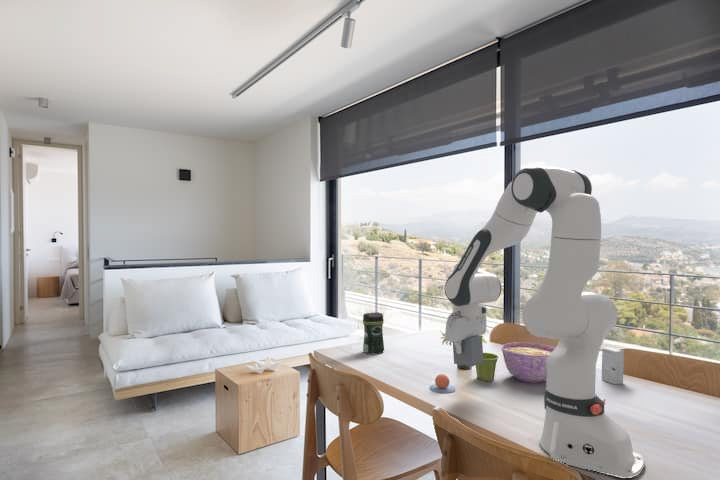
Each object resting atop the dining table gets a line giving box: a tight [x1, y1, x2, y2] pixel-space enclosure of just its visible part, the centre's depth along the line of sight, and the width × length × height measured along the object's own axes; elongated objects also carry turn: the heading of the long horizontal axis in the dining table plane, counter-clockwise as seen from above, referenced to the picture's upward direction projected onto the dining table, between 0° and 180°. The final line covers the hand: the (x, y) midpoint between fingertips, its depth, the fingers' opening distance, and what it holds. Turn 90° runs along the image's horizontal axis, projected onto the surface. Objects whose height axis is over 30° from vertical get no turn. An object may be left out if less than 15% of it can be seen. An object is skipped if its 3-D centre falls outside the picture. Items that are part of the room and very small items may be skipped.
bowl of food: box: [501, 341, 556, 384], centre depth 162 cm, size 20×20×12 cm
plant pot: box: [475, 352, 499, 382], centre depth 163 cm, size 9×9×9 cm
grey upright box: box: [452, 335, 484, 367], centre depth 144 cm, size 7×7×9 cm
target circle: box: [429, 384, 456, 394], centre depth 152 cm, size 9×9×1 cm
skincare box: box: [601, 346, 625, 385], centre depth 159 cm, size 6×4×12 cm
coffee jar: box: [362, 312, 385, 354], centre depth 202 cm, size 10×8×19 cm
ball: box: [434, 373, 450, 389], centre depth 152 cm, size 5×5×5 cm
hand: (466, 351), depth 144 cm, fingers closed on grey upright box, 7 cm apart
